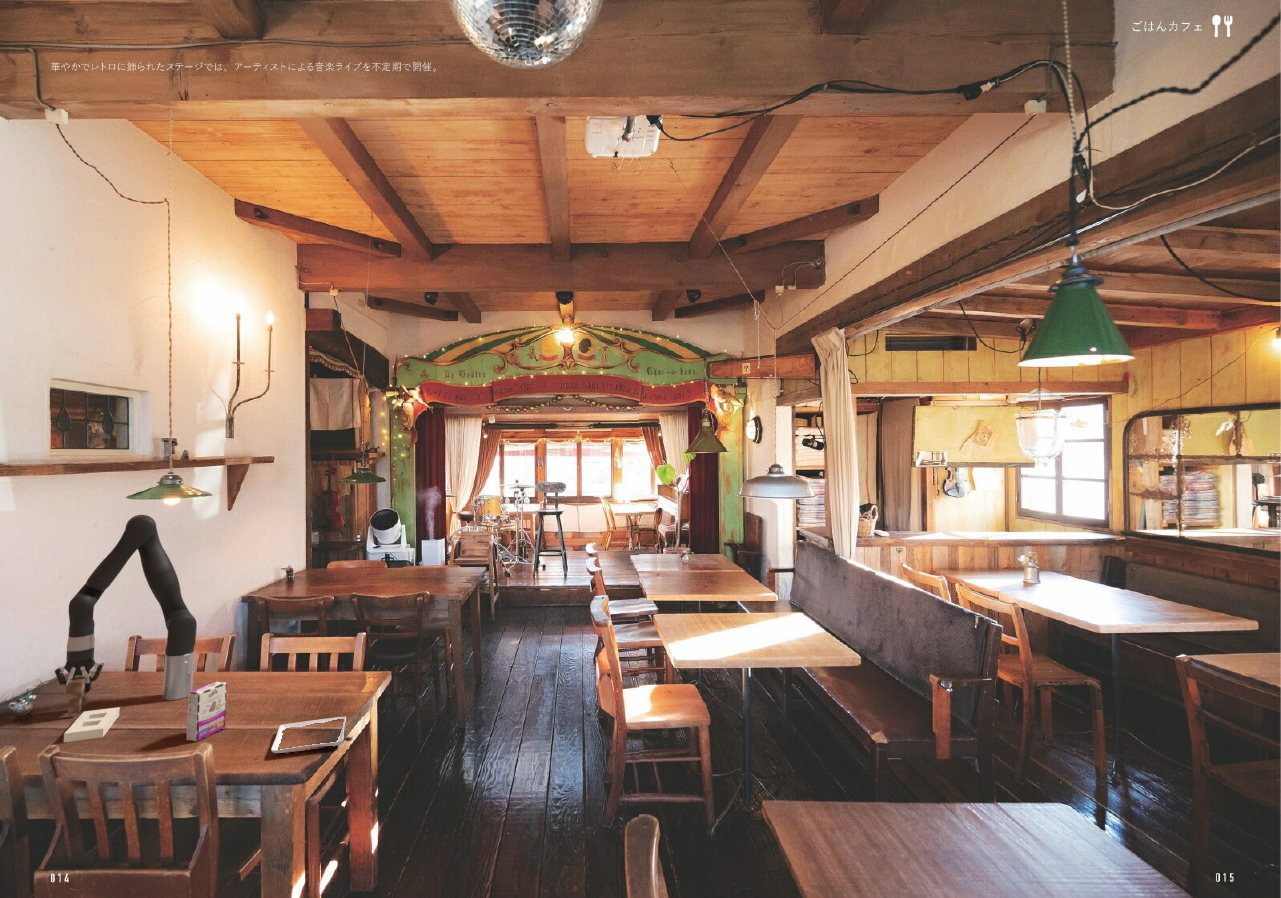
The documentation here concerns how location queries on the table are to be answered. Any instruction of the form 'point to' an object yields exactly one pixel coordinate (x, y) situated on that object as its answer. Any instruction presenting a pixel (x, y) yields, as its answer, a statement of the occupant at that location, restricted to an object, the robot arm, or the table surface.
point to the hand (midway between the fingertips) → (78, 693)
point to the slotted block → (91, 724)
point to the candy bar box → (206, 710)
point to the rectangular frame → (301, 724)
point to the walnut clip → (76, 694)
